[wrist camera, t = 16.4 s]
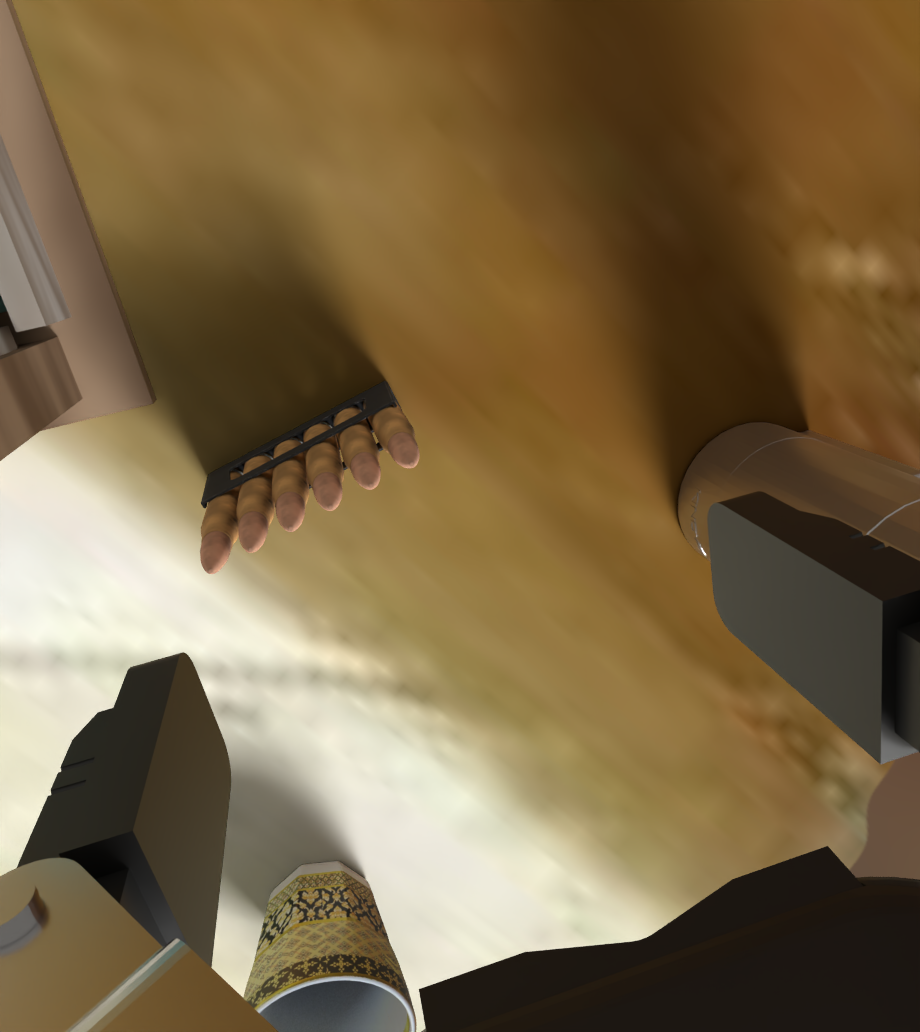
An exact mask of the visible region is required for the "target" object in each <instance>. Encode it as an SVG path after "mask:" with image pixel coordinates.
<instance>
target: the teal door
mask: <svg viewBox="0 0 920 1032" xmlns="http://www.w3.org/2000/svg"><path fill="white" fill-rule="evenodd" d="M6 311H7V309H6V307H5V304H4V302H3V299H2V297H1V295H0V313H2V312H6Z"/></svg>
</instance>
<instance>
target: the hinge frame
mask: <svg viewBox="0 0 920 1032" xmlns="http://www.w3.org/2000/svg"><path fill="white" fill-rule="evenodd" d="M0 295H1V297H2V299H3V302H4V304H5V307H6V309H7V311H6V312H2V313H0V461H1V460H2V459H3V458H5V457H6V456H7V455H9V454H10V453H11V452H13V451H14V450H15V449H17V448H18V447H19V446H21V445H22V444H23V443H25V442H26V441H27V440H29V439H30V438H31V437H33V436H34V435H35V434H37V433H38V432H39V431H42V430H46V429H50V428H54V427H58V426H62V425H67V424H71V423H75V422H79V421H83V420H87V419H91V418H96V417H100V416H104V415H108V414H112V413H116V412H120V411H125V410H129V409H133V408H137V407H141V406H145V405H150V404H153V403H154V402H155V401H156V397H155V395H154V392H153V389H152V386H151V383H150V381H149V378H148V375H147V372H146V370H145V367H144V364H143V361H142V359H141V356H140V353H139V350H138V348H137V345H136V342H135V339H134V337H133V334H132V331H131V328H130V326H129V323H128V320H127V317H126V315H125V312H124V309H123V306H122V304H121V301H120V298H119V295H118V292H117V290H116V287H115V284H114V281H113V279H112V276H111V273H110V270H109V268H108V265H107V262H106V259H105V257H104V254H103V251H102V248H101V246H100V243H99V240H98V237H97V235H96V232H95V229H94V226H93V224H92V221H91V218H90V215H89V213H88V210H87V207H86V204H85V202H84V199H83V196H82V193H81V190H80V188H79V185H78V182H77V179H76V177H75V174H74V171H73V168H72V166H71V163H70V160H69V157H68V155H67V152H66V149H65V146H64V144H63V141H62V138H61V135H60V133H59V130H58V127H57V124H56V122H55V119H54V116H53V113H52V111H51V108H50V105H49V102H48V100H47V97H46V94H45V91H44V88H43V86H42V83H41V80H40V77H39V75H38V72H37V69H36V66H35V64H34V61H33V58H32V55H31V53H30V50H29V47H28V44H27V42H26V39H25V36H24V33H23V31H22V28H21V25H20V22H19V20H18V17H17V14H16V11H15V9H14V6H13V3H12V0H0Z"/></svg>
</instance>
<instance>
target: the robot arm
mask: <svg viewBox="0 0 920 1032" xmlns="http://www.w3.org/2000/svg"><path fill="white" fill-rule="evenodd" d="M678 517H679V521H680V526H681V529H682V531H683V533H684V535H685V537H686V540H687V541H688V542H689V543H690V544H691V546H692V547H693V548H694V549H695V550H696V551H697V552H698V553H700V554H701V555H702V556H704V557H705V558H706V559H708V560H709V561H710V562H711V571H712V582H713V593H714V599H715V604H716V607H717V610H718V612H719V615H720V617H721V619H722V621H723V623H724V624H725V626H726V627H727V628H728V630H729V631H730V632H731V633H732V634H733V635H734V636H736V637H737V638H738V639H739V640H740V641H741V642H742V643H743V644H745V645H746V646H747V647H748V648H749V649H750V650H751V651H753V652H754V653H755V654H756V655H757V656H758V657H759V658H761V659H762V660H763V661H764V662H765V663H766V664H767V665H768V666H770V667H771V668H772V669H773V670H774V671H775V672H776V673H778V674H779V675H780V676H781V677H782V678H783V679H784V680H785V681H787V682H788V683H789V684H790V685H791V686H792V687H793V688H795V689H796V690H797V691H798V692H799V693H800V694H801V695H803V696H804V697H805V698H806V699H807V700H808V701H809V702H810V703H812V704H813V705H814V706H815V707H816V708H817V709H818V710H820V711H821V712H822V713H823V714H824V715H825V716H826V717H828V718H829V719H830V720H831V721H832V722H833V723H834V724H835V725H837V726H838V727H839V728H840V729H841V730H842V731H843V732H845V733H846V734H847V735H848V736H849V737H850V738H851V739H852V740H854V741H855V742H856V743H857V744H858V745H859V746H860V747H862V748H863V749H864V750H865V751H866V752H867V753H868V754H870V755H871V756H872V757H873V758H874V759H875V760H876V761H877V762H879V763H880V764H883V763H886V762H889V761H892V760H895V759H898V758H901V757H904V756H907V755H909V754H913V753H916V752H920V470H919V469H916V468H913V467H910V466H908V465H905V464H902V463H899V462H897V461H894V460H891V459H888V458H885V457H883V456H880V455H877V454H874V453H871V452H869V451H866V450H863V449H860V448H858V447H855V446H852V445H849V444H846V443H844V442H841V441H838V440H835V439H832V438H830V437H827V436H824V435H821V434H819V433H816V432H813V431H810V430H807V431H803V432H796V431H793V430H790V429H788V428H785V427H782V426H780V425H776V424H771V423H766V422H753V423H747V424H743V425H739V426H735V427H733V428H731V429H729V430H727V431H725V432H723V433H721V434H720V435H718V436H717V437H716V438H714V439H713V440H712V441H710V442H709V443H708V444H707V445H706V446H705V447H704V448H703V449H702V450H701V451H700V452H699V453H698V454H697V455H696V457H695V459H694V460H693V462H692V463H691V465H690V466H689V468H688V469H687V472H686V474H685V477H684V479H683V481H682V484H681V488H680V493H679V498H678ZM230 790H231V770H230V763H229V757H228V753H227V749H226V745H225V742H224V739H223V737H222V734H221V732H220V729H219V727H218V724H217V722H216V719H215V717H214V714H213V712H212V709H211V707H210V704H209V702H208V699H207V696H206V694H205V691H204V689H203V686H202V684H201V681H200V679H199V676H198V674H197V671H196V669H195V667H194V664H193V662H192V660H191V659H190V657H189V656H188V655H187V654H186V653H179V654H176V655H172V656H169V657H165V658H162V659H158V660H155V661H151V662H147V663H144V664H140V665H137V666H133V667H130V668H129V669H128V671H127V674H126V676H125V679H124V682H123V684H122V687H121V690H120V692H119V695H118V697H117V700H116V703H115V705H114V708H112V709H108V710H105V711H101V712H98V713H97V714H96V715H95V716H94V717H93V718H92V720H91V721H90V722H89V723H88V724H87V725H86V726H85V727H84V728H83V729H82V730H81V731H80V732H79V734H78V735H77V736H76V737H75V738H74V739H73V740H72V742H71V745H70V747H69V749H68V751H67V754H66V756H65V758H64V761H63V763H62V765H61V772H59V773H58V774H57V777H56V779H55V781H54V783H53V786H52V788H51V795H50V796H48V797H47V800H46V802H45V804H44V806H43V809H42V811H41V813H40V816H39V818H38V820H37V822H36V825H35V827H34V829H33V832H32V834H31V836H30V838H29V841H28V843H27V845H26V848H25V850H24V852H23V854H22V857H21V859H20V861H19V864H18V866H17V868H16V869H14V870H12V871H10V872H8V873H6V874H4V875H2V876H0V1032H278V1031H277V1030H276V1029H275V1028H274V1027H273V1026H272V1025H271V1024H270V1023H269V1022H268V1021H267V1020H266V1019H265V1018H264V1017H263V1016H262V1015H260V1014H259V1013H258V1012H257V1011H256V1010H255V1009H254V1008H253V1007H252V1006H251V1005H250V1004H249V1003H248V1002H247V1001H246V1000H245V999H244V998H243V997H242V996H240V995H239V994H238V993H237V992H236V991H235V990H234V989H233V988H232V987H231V986H230V985H229V984H228V983H227V982H226V981H225V980H224V979H223V978H221V977H220V976H219V975H218V974H217V973H216V972H215V971H214V970H213V969H212V968H211V966H212V957H213V948H214V938H215V929H216V920H217V910H218V901H219V892H220V882H221V873H222V864H223V855H224V845H225V836H226V827H227V817H228V808H229V799H230ZM419 992H420V998H421V1004H422V1010H423V1015H424V1021H425V1027H426V1029H424V1030H423V1031H422V1032H920V880H917V879H907V878H898V877H861V878H855V876H854V875H853V874H852V873H851V872H850V871H849V869H848V868H847V867H846V866H845V865H844V864H843V863H842V862H841V861H840V859H839V858H838V857H837V856H836V855H835V854H834V853H833V852H832V850H831V849H830V848H829V847H828V846H826V847H824V848H821V849H818V850H815V851H812V852H809V853H806V854H804V855H801V856H798V857H795V858H792V859H789V860H786V861H784V862H781V863H778V864H775V865H772V866H769V867H767V868H764V869H761V870H758V871H755V872H752V873H749V874H747V875H744V876H741V877H738V878H735V879H732V880H731V881H730V882H728V883H727V884H725V885H724V886H722V887H721V888H719V889H718V890H716V891H715V892H714V893H712V894H711V895H709V896H708V897H706V898H705V899H703V900H702V901H700V902H699V903H698V904H696V905H695V906H693V907H692V908H690V909H689V910H687V911H686V912H684V913H683V914H682V915H680V916H679V917H677V918H676V919H674V920H673V921H671V922H670V923H668V924H667V925H666V926H664V927H663V928H661V929H660V930H658V931H657V932H655V933H654V934H652V935H650V936H649V937H647V938H644V939H641V940H638V941H633V942H624V943H614V944H604V945H594V946H583V947H573V948H563V949H553V950H543V951H532V952H524V953H521V954H518V955H516V956H513V957H510V958H507V959H504V960H501V961H498V962H496V963H493V964H490V965H487V966H484V967H481V968H478V969H476V970H473V971H470V972H467V973H464V974H461V975H459V976H456V977H453V978H450V979H447V980H444V981H441V982H439V983H436V984H433V985H430V986H427V987H424V988H421V989H419Z"/></svg>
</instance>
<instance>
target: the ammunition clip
mask: <svg viewBox="0 0 920 1032" xmlns="http://www.w3.org/2000/svg"><path fill="white" fill-rule="evenodd" d="M373 432H375V435H376V437H377V439H378V441H379V442H378V443H377V444H376V442H375V440H374V437H373V435H372V433H373ZM340 449H341V453H342V457H343V460H344V462H342V461H341V456H340V452H339V450H340ZM383 449H384V450H385V451H386V452H388V453H389V454H390V455H391V456H392V458H393V459H394V460H395V461H396V462H397V463H398V464H399V465H401V466H403V467H405V468H413V467H415V466H416V465H417V463H418V460H419V449H418V446H417V443H416V441H415V433H414V430H413V427H412V426H411V424H410V423H409V421H408V420H407V418H406V416H405V415H404V413H403V412H402V409H401V407H400V405H399V403H398V402H397V400H396V398H395V396H394V394H393V392H392V390H391V388H390V386H389V384H388V382H386V381H383V382H382V383H380V384H378V385H376V386H374V387H372V388H370V389H368V390H366V391H365V392H363V393H361V394H359V395H357V396H355V397H353V398H351V399H349V400H348V401H346V402H344V403H342V404H340V405H338V406H336V407H334V408H332V409H331V410H329V411H327V412H325V413H323V414H321V415H319V416H317V417H315V418H313V419H312V420H310V421H308V422H306V423H304V424H302V425H300V426H298V427H296V428H295V429H293V430H291V431H289V432H287V433H285V434H283V435H281V436H279V437H278V438H276V439H274V440H272V441H270V442H268V443H266V444H264V445H262V446H261V447H259V448H257V449H255V450H253V451H251V452H249V453H247V454H245V455H243V456H242V457H240V458H238V459H236V460H234V461H232V462H230V463H228V464H226V465H225V466H223V467H221V468H219V469H217V470H215V471H213V472H211V473H210V474H209V475H208V477H207V480H206V485H205V489H204V493H203V497H202V501H201V504H202V506H203V507H204V508H206V507H207V509H206V513H205V516H204V519H203V523H202V526H201V536H202V545H201V550H200V556H201V563H202V566H203V568H204V570H205V571H206V572H207V573H209V574H214V573H216V572H218V571H219V570H220V569H221V568H222V567H223V566H224V565H225V563H226V561H227V559H228V557H229V555H230V551H231V549H232V546H233V544H234V543H235V542H236V540H237V538H238V535H239V540H240V542H241V545H242V547H243V548H244V549H245V550H246V551H247V552H249V553H253V552H255V551H257V550H258V549H259V548H260V547H261V546H262V545H263V543H264V541H265V539H266V536H267V533H268V528H269V525H270V523H271V522H272V519H273V517H274V511H275V507H276V514H277V518H278V520H279V523H280V525H281V526H282V527H283V528H284V529H285V530H286V531H289V532H292V531H295V530H297V528H298V527H299V526H300V525H301V523H302V521H303V519H304V515H305V508H306V503H307V501H308V498H309V489H310V488H313V491H314V495H315V498H316V500H317V502H318V503H319V504H320V506H321V507H322V508H324V509H325V510H328V511H332V510H334V509H336V508H337V506H338V505H339V503H340V501H341V498H342V482H343V479H344V470H346V469H347V468H348V469H349V470H350V471H351V473H352V474H353V476H354V478H355V480H356V481H357V482H358V484H359V485H360V486H362V487H364V488H366V489H374V488H375V487H376V486H377V485H378V483H379V481H380V466H379V451H381V450H383ZM207 502H208V506H207Z"/></svg>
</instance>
